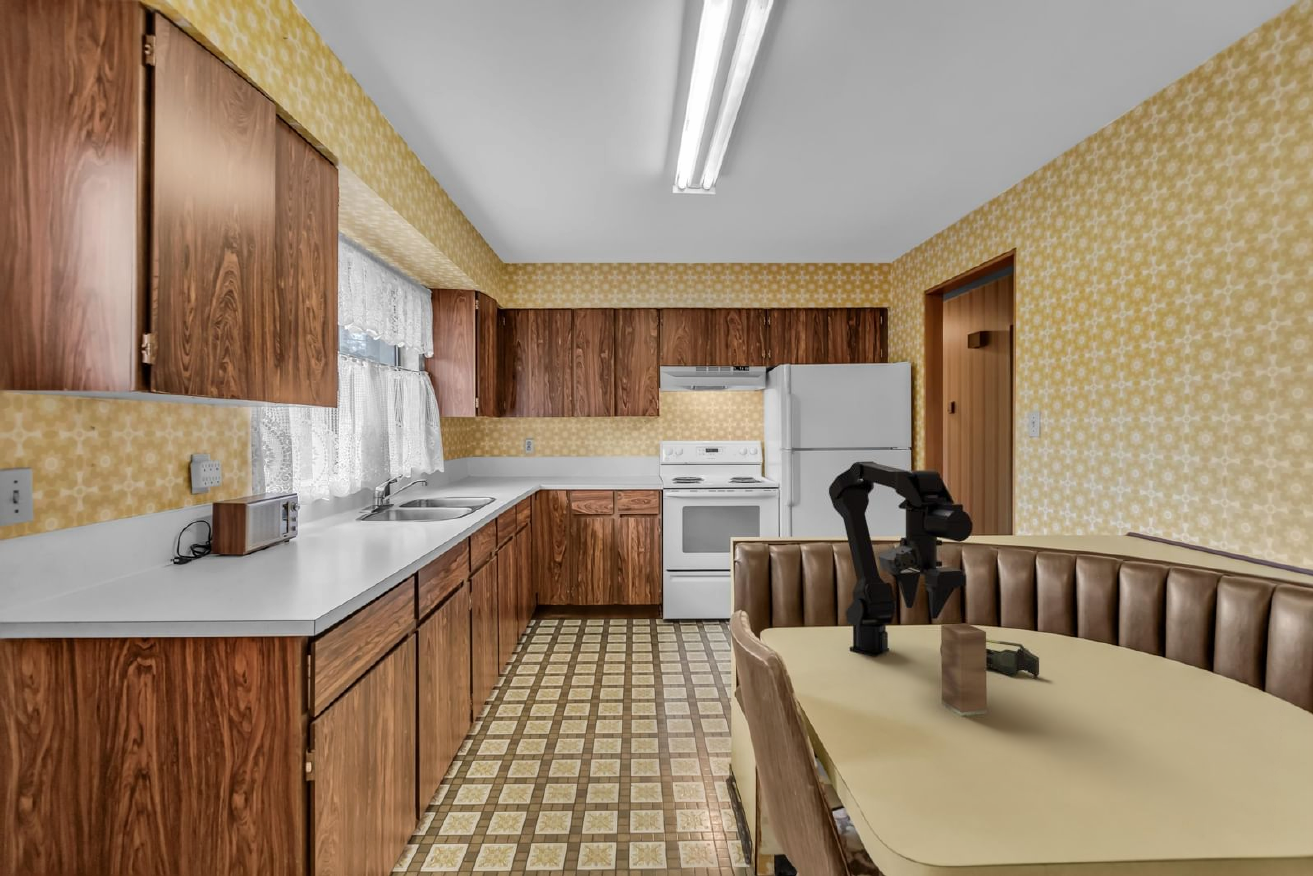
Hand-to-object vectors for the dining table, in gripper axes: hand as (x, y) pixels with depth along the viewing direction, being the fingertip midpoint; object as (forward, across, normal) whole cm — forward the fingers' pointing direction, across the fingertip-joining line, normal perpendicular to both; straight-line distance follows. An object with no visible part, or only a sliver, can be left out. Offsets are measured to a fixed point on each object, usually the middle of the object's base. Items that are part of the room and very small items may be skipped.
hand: (921, 613), depth 121 cm
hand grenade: (+13, -2, +17) cm, 22 cm away
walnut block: (+13, +14, -2) cm, 19 cm away
